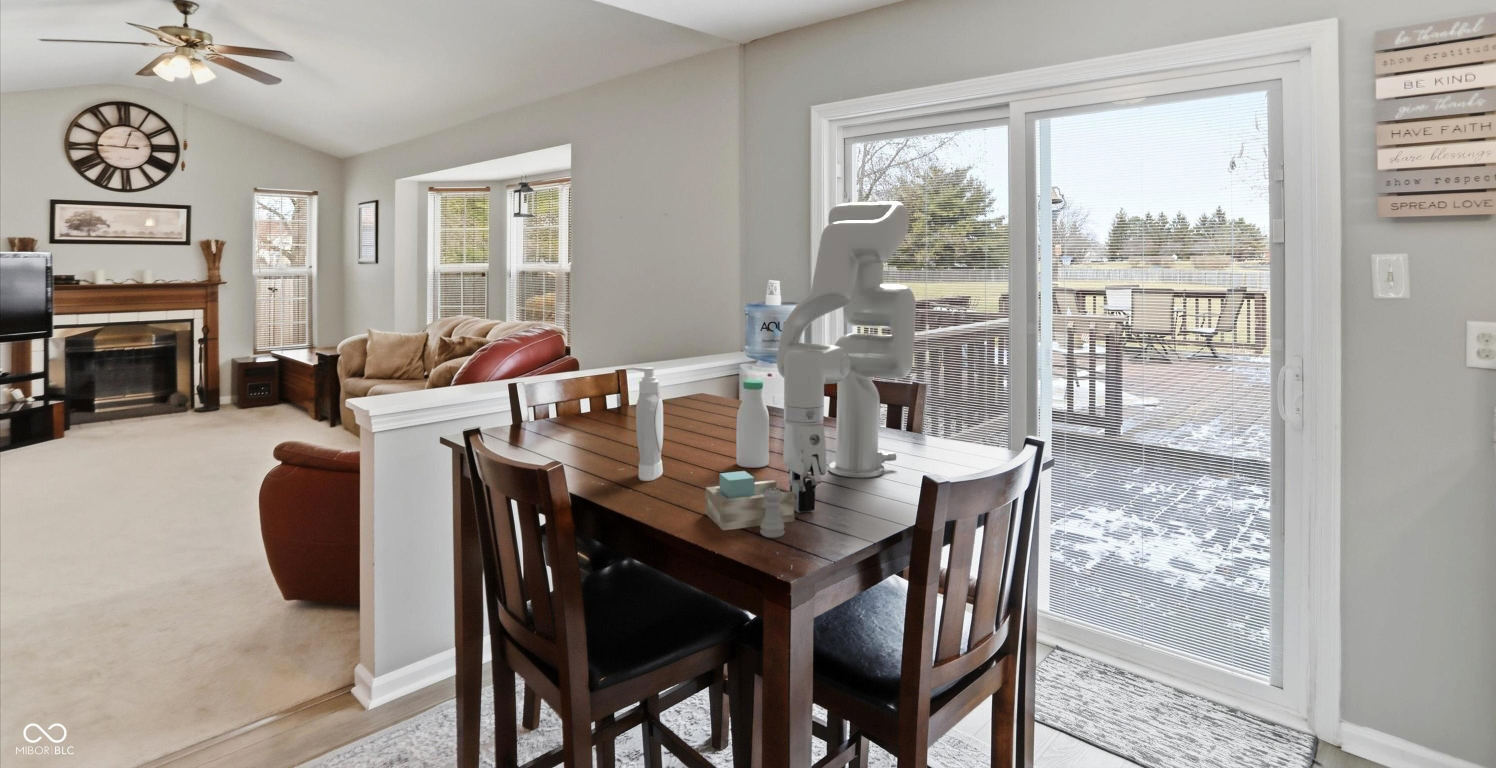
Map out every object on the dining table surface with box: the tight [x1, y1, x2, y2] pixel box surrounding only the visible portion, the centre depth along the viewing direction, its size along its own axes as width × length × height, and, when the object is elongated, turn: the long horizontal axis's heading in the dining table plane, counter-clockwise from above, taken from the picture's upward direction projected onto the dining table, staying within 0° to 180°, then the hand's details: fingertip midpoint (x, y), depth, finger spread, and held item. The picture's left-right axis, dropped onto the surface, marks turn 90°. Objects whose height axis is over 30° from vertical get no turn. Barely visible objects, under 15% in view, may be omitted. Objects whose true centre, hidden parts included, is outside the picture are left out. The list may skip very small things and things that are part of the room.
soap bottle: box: [625, 366, 664, 482], centre depth 169 cm, size 13×8×24 cm, turn 174°
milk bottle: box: [735, 379, 770, 469], centre depth 179 cm, size 8×8×20 cm
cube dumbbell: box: [719, 470, 809, 514], centre depth 143 cm, size 18×5×8 cm, turn 112°
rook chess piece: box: [759, 487, 786, 539], centre depth 133 cm, size 4×4×8 cm
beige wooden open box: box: [704, 479, 795, 531], centre depth 142 cm, size 14×10×5 cm
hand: (802, 506), depth 147 cm, fingers closed on cube dumbbell, 3 cm apart
